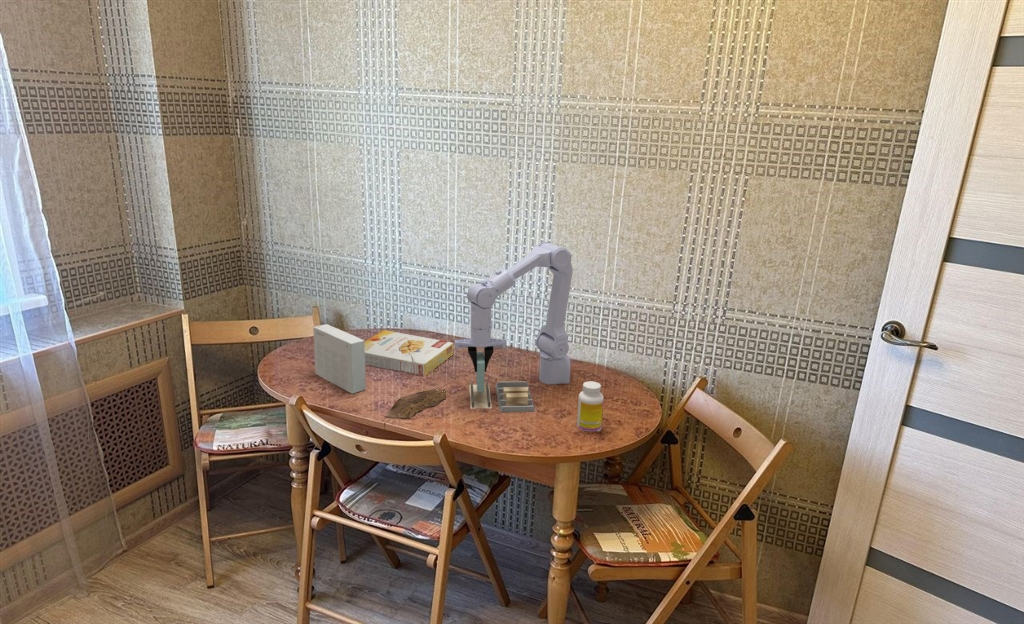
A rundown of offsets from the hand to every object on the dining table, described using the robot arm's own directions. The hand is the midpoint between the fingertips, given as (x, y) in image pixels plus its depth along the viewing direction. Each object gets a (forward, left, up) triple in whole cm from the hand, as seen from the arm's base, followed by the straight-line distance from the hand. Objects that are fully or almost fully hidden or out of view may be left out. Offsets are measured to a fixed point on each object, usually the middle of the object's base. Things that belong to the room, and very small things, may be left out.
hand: (480, 370), depth 180 cm
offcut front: (-10, +8, -8) cm, 15 cm away
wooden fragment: (+17, +1, -10) cm, 20 cm away
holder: (0, 0, -9) cm, 9 cm away
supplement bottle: (-29, +19, -9) cm, 35 cm away
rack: (-10, +1, -9) cm, 13 cm away
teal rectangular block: (0, 0, -5) cm, 5 cm away
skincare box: (+42, -14, -9) cm, 46 cm away
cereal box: (+24, -32, -10) cm, 42 cm away
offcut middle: (-10, +4, -8) cm, 13 cm away
